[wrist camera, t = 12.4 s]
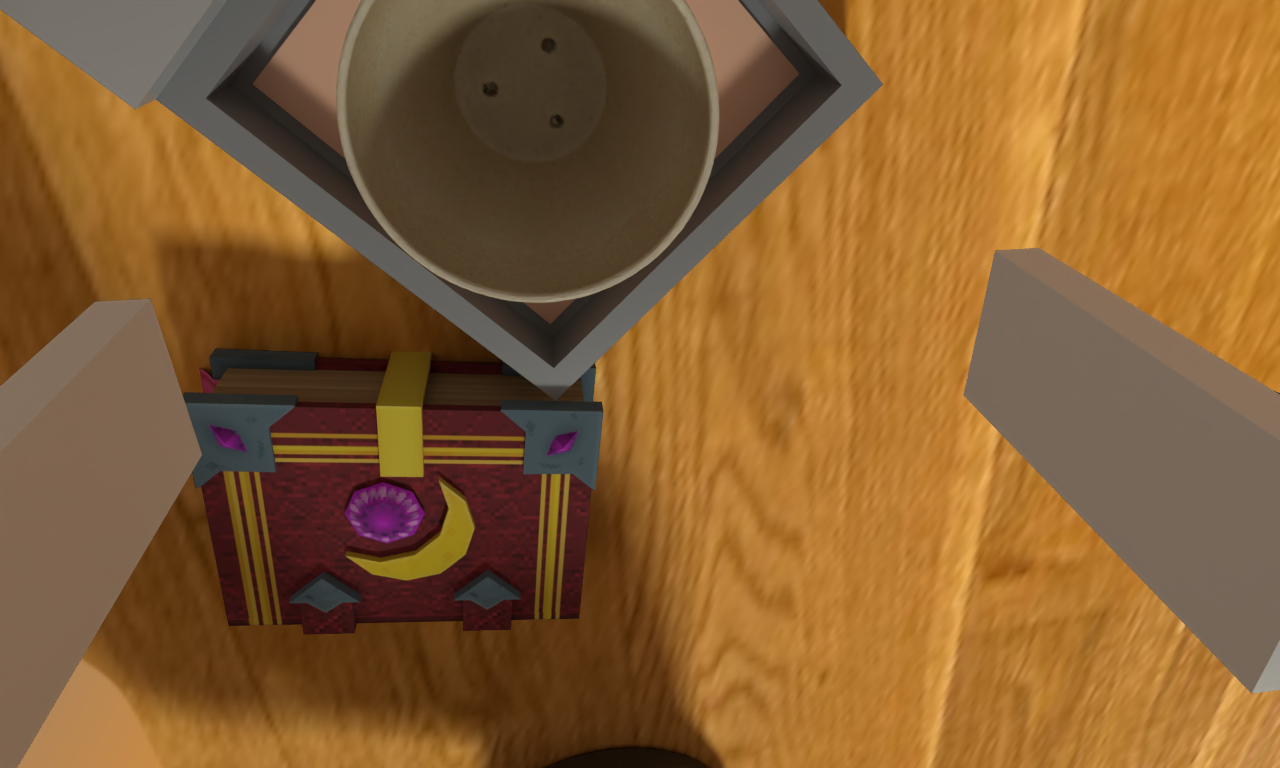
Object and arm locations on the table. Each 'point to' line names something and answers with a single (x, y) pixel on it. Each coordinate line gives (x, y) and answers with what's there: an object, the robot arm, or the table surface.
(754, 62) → the grey open tray
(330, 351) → the table surface
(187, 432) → the robot arm
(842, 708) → the table surface
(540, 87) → the flower pot
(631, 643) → the table surface
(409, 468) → the decorative book
